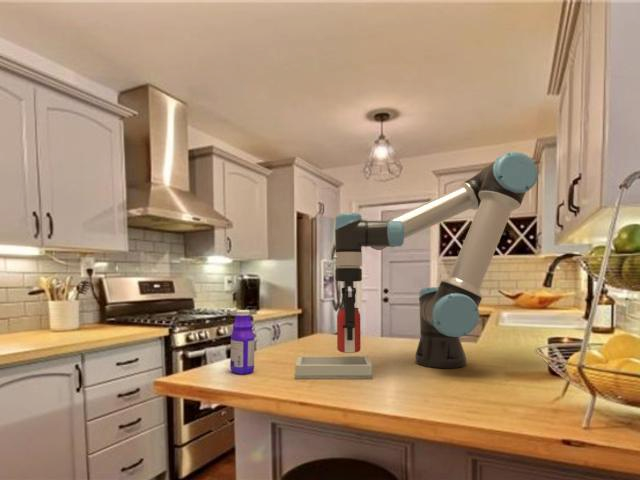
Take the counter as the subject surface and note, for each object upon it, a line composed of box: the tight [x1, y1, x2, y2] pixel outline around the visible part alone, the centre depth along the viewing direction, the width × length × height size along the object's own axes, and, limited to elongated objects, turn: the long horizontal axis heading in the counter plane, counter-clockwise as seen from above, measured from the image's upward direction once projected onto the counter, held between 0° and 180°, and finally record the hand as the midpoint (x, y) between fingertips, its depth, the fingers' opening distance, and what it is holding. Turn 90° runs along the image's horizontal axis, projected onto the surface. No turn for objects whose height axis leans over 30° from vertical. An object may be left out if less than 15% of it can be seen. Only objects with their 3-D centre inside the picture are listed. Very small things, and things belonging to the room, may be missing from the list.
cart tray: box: [294, 355, 373, 380], centre depth 115 cm, size 20×12×4 cm, turn 89°
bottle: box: [229, 309, 256, 375], centre depth 117 cm, size 7×6×17 cm
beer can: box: [336, 306, 362, 354], centre depth 115 cm, size 7×7×12 cm
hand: (349, 349), depth 115 cm, fingers closed on beer can, 6 cm apart
